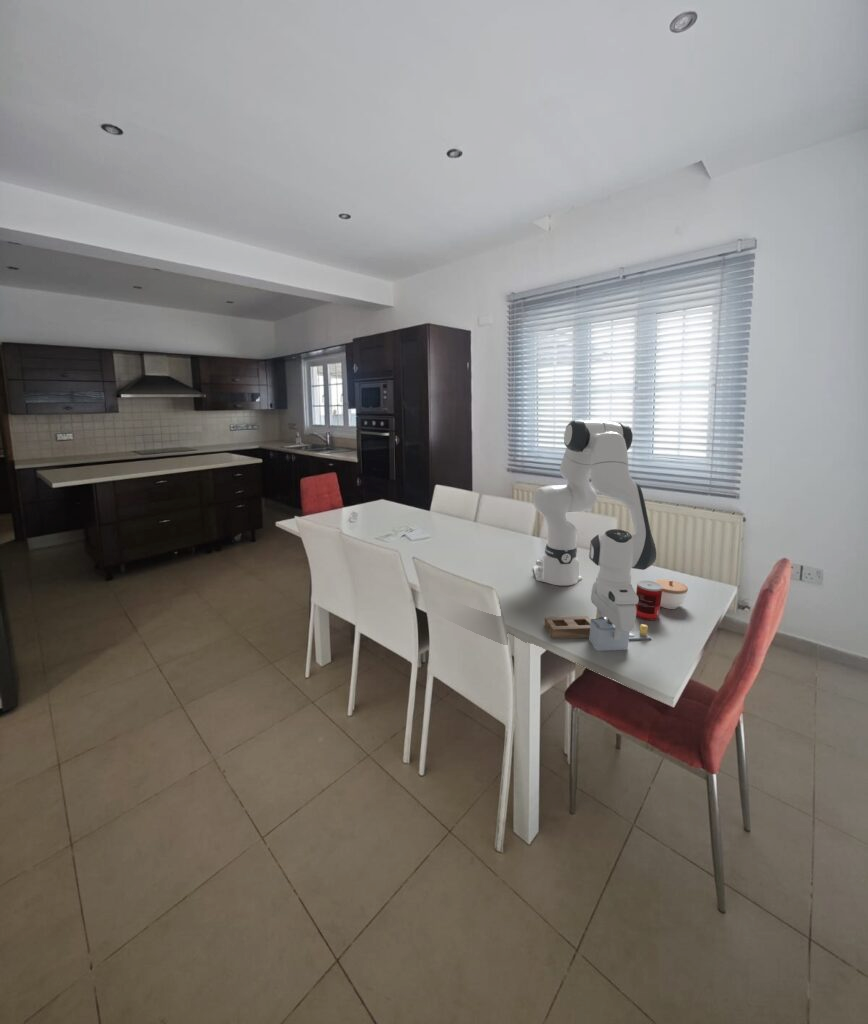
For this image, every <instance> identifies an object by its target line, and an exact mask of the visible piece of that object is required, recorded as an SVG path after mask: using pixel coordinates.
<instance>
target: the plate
mask: <svg viewBox="0 0 868 1024" xmlns="http://www.w3.org/2000/svg"><path fill="white" fill-rule="evenodd" d="M639 626H640V627H639V631H630V632H629V641H649V640H652V637H651V636H650V635H649V634H648V629H649V628H648V627H649V626H648V625H647V624H643V623H641V624H640V625H639ZM629 641H628V642H629Z"/></svg>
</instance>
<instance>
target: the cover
mask: <svg viewBox="0 0 868 1024" xmlns="http://www.w3.org/2000/svg"><path fill="white" fill-rule="evenodd" d="M590 619H591V623H590V635H589V637H588V641H589V642H590V643H591V645H592V646H593V647H594V649H596V651H597V652H601V651H621V650H622V651H623V650H629V649H628V647H629V632H631V631H627V632H623V633H622V634H621V639H620V640H615V639H614V638H613V637H612V635H613V632H615V630H616V629H615V626H614V625H613V624H612V622H611V621H610V620H609V619H608V618H607V617H605V618H604V619H596V618H590Z"/></svg>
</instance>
